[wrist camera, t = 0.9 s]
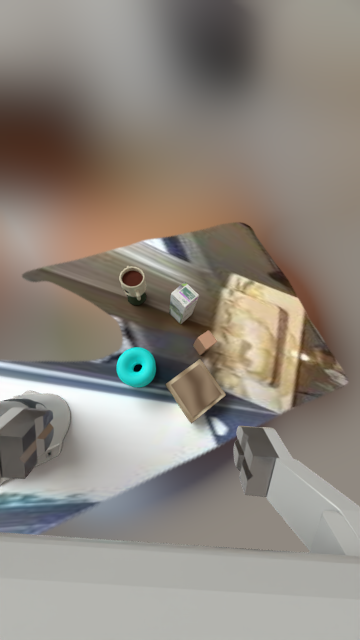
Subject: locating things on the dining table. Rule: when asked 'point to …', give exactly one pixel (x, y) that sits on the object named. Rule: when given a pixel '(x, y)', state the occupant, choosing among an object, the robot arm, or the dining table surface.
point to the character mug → (133, 284)
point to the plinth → (195, 390)
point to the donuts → (128, 363)
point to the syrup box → (183, 302)
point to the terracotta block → (204, 342)
